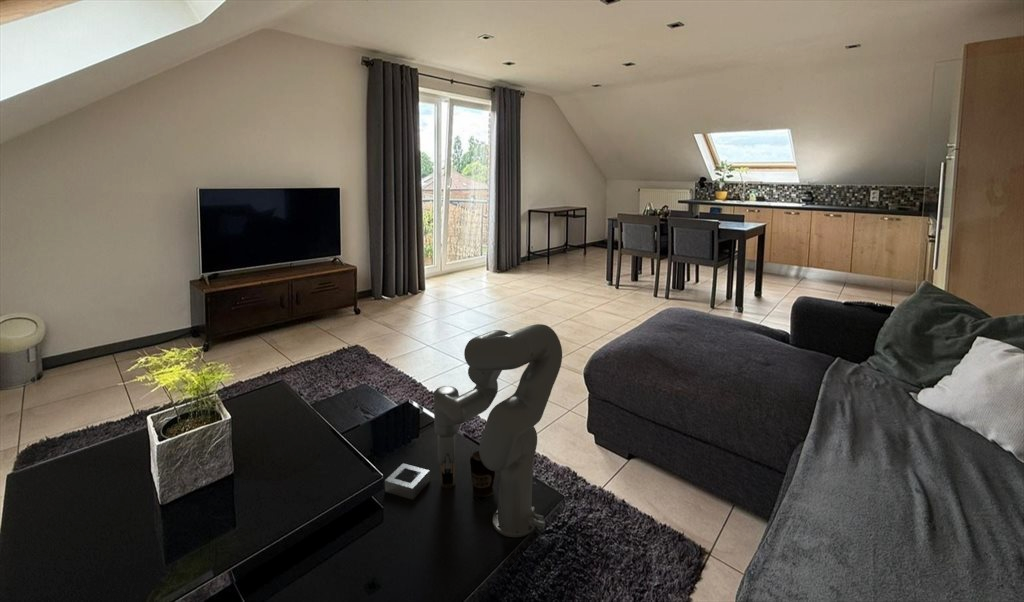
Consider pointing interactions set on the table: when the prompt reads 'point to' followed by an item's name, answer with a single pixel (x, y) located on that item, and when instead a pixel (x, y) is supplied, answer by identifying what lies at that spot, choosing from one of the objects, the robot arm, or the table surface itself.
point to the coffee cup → (481, 477)
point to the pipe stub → (453, 476)
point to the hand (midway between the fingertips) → (447, 474)
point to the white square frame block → (407, 481)
